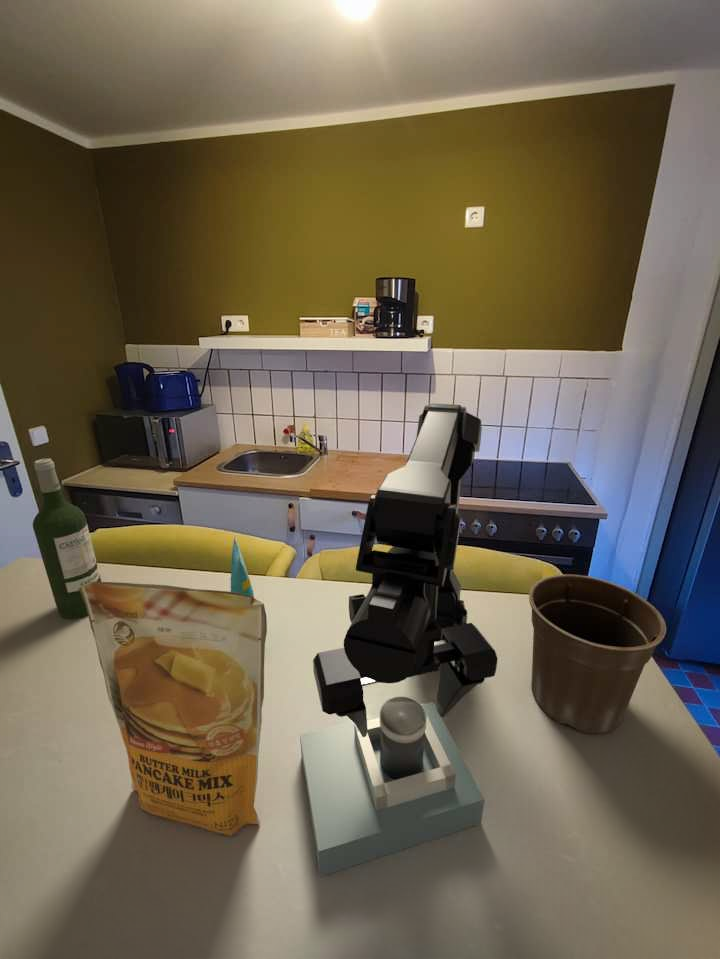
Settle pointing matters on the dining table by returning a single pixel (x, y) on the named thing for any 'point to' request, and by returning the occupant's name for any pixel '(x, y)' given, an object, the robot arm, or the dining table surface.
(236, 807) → the pancake mix bag
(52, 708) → the dining table surface
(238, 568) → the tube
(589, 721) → the plant pot
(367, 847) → the teal base with frame
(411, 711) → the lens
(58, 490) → the wine bottle
